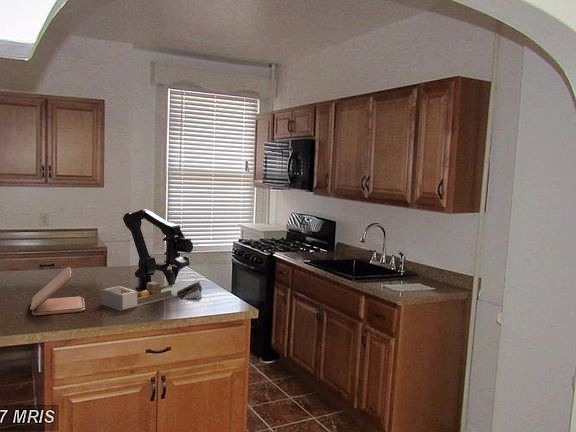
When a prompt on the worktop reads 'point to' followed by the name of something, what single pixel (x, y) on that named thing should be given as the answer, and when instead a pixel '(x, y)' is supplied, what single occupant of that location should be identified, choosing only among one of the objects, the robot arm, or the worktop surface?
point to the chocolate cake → (191, 291)
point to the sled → (155, 287)
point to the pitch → (154, 297)
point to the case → (56, 305)
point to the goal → (119, 298)
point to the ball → (144, 293)
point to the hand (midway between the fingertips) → (171, 281)
